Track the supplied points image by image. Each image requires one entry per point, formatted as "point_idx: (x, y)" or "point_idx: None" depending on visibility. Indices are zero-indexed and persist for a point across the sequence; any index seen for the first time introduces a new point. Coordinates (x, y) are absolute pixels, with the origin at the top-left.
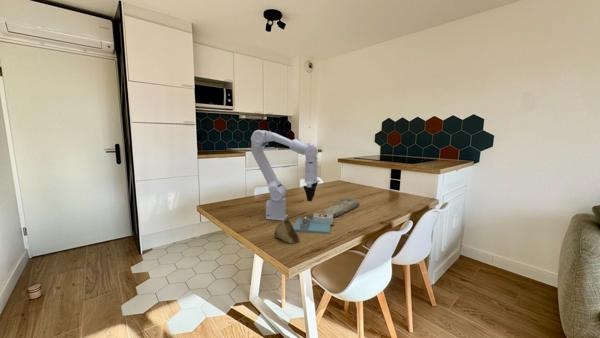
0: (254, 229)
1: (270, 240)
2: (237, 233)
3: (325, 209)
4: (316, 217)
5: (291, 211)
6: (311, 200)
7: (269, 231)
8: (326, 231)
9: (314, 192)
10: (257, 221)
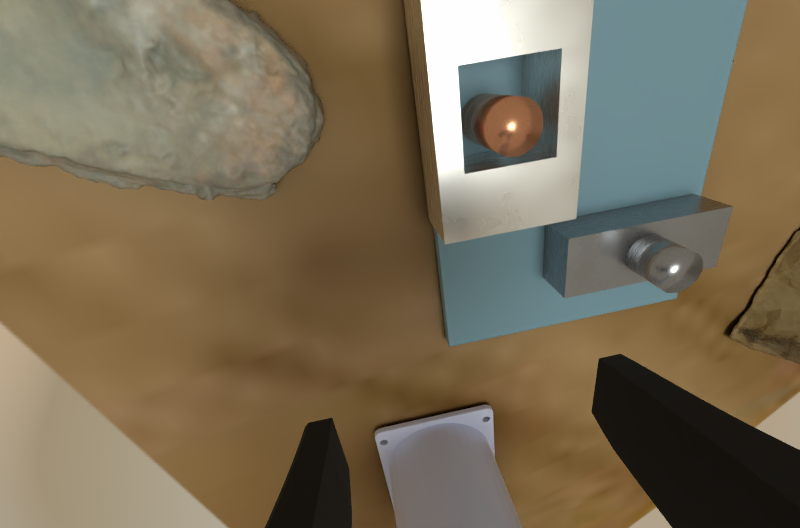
0: None
1: None
2: None
3: (122, 171)
4: (579, 178)
5: (266, 445)
6: (636, 367)
7: None
8: (740, 4)
9: (318, 508)
10: (529, 497)
